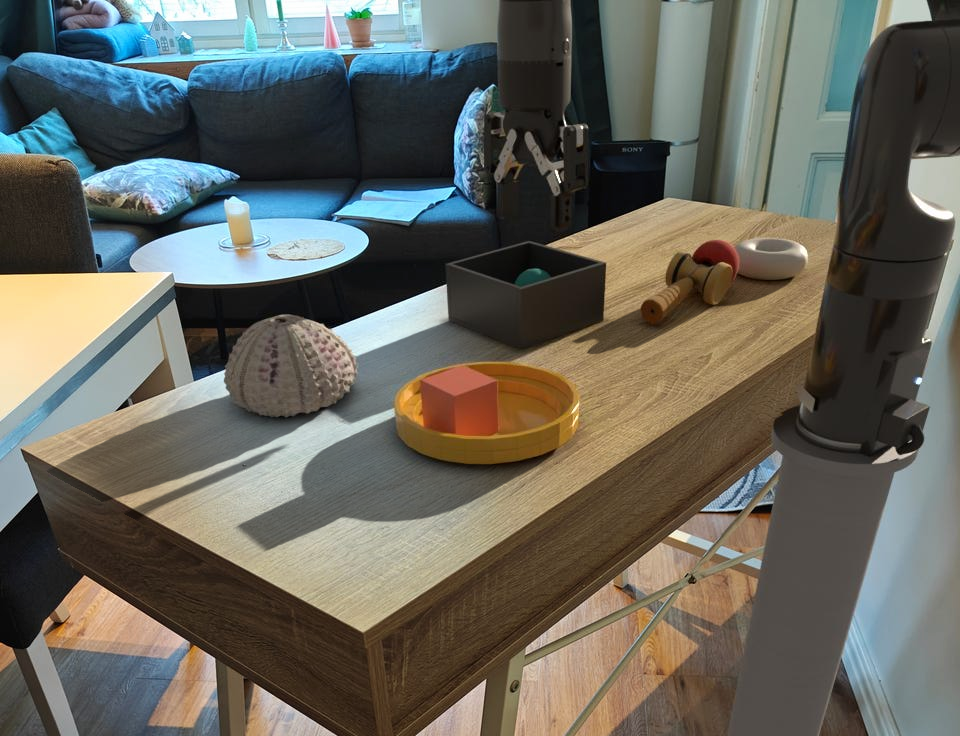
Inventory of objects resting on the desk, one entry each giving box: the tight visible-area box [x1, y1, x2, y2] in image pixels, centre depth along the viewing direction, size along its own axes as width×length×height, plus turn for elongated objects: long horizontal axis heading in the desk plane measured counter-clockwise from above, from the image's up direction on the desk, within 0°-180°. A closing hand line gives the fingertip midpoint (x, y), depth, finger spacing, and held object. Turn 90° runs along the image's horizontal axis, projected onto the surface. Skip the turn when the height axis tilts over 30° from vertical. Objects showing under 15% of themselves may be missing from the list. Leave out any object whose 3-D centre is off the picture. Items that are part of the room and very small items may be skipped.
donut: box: [733, 237, 809, 281], centre depth 117 cm, size 10×4×10 cm
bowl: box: [393, 361, 580, 465], centre depth 84 cm, size 17×17×3 cm
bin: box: [444, 240, 607, 350], centre depth 105 cm, size 13×13×7 cm
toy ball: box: [514, 269, 551, 287], centre depth 106 cm, size 5×5×5 cm
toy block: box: [420, 365, 498, 436], centre depth 81 cm, size 5×5×5 cm
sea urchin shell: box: [223, 314, 359, 418], centre depth 89 cm, size 13×14×8 cm
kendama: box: [640, 239, 739, 326], centre depth 108 cm, size 8×6×18 cm
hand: (533, 224), depth 100 cm, fingers open, 8 cm apart
